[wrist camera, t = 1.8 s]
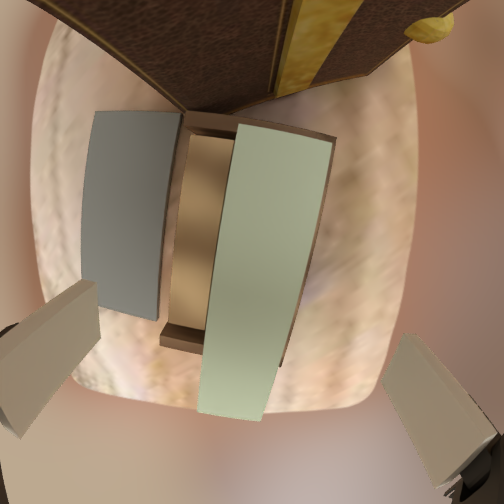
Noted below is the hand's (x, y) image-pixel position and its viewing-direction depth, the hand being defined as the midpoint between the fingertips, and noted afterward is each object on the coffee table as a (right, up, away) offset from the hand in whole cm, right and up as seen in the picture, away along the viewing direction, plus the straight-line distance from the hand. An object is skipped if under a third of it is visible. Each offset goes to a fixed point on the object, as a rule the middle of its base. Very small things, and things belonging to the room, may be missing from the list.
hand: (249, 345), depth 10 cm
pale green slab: (0, +5, +17) cm, 18 cm away
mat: (-14, +7, +16) cm, 22 cm away
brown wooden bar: (-4, +6, +17) cm, 18 cm away
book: (+3, +22, +12) cm, 25 cm away
